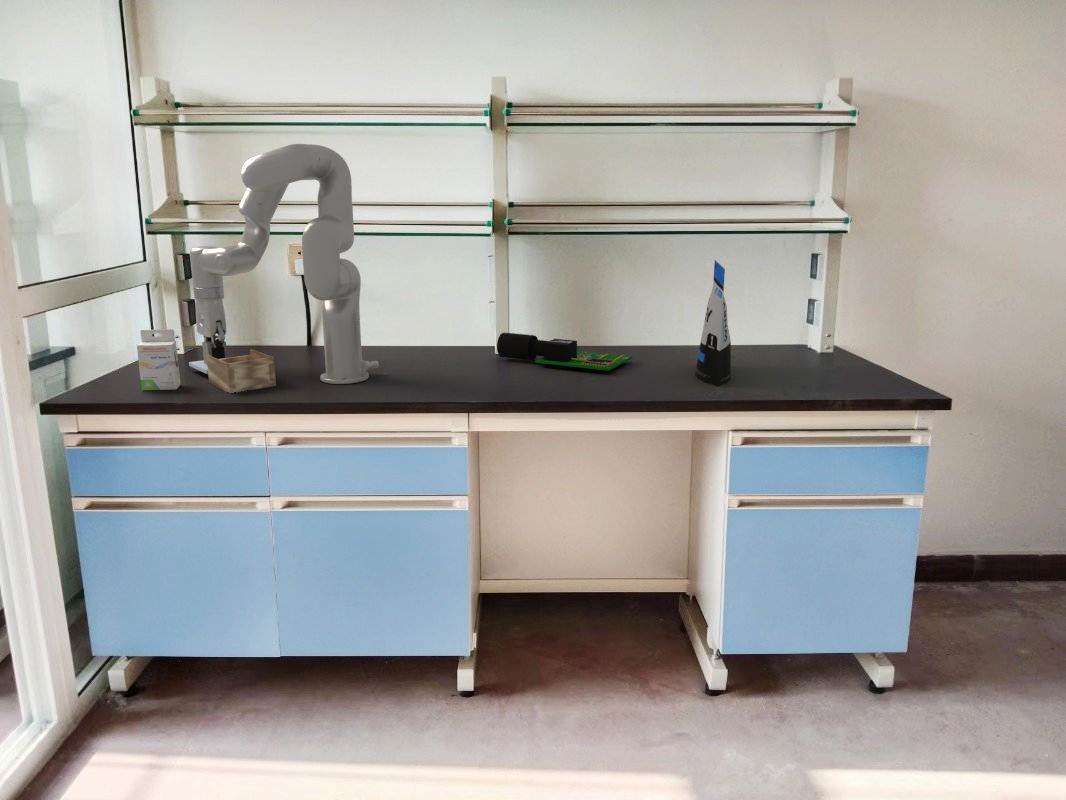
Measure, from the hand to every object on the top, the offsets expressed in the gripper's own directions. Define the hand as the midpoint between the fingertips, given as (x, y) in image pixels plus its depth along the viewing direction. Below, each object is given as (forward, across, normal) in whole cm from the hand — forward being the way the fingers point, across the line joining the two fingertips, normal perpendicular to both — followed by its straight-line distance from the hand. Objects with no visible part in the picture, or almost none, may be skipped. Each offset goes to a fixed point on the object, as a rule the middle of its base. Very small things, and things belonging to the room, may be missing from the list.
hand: (215, 359), depth 226 cm
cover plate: (+2, 0, 0) cm, 2 cm away
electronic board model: (+4, +53, +80) cm, 96 cm away
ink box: (+4, +7, -17) cm, 19 cm away
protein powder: (+4, +92, +100) cm, 136 cm away
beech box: (+4, +18, 0) cm, 18 cm away
